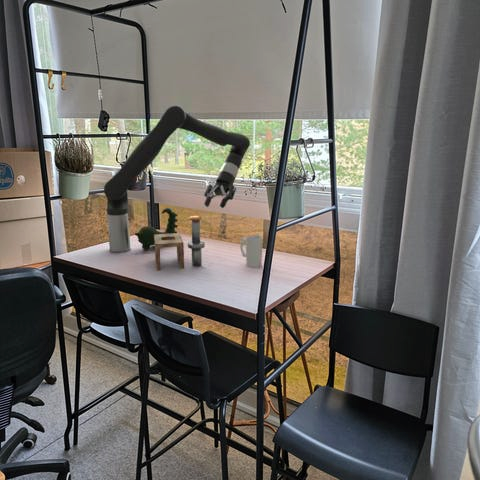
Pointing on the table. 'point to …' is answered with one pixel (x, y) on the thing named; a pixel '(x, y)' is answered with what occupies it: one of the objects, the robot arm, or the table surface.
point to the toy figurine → (148, 232)
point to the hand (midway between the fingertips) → (213, 206)
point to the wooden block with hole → (169, 241)
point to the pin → (196, 241)
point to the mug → (252, 250)
